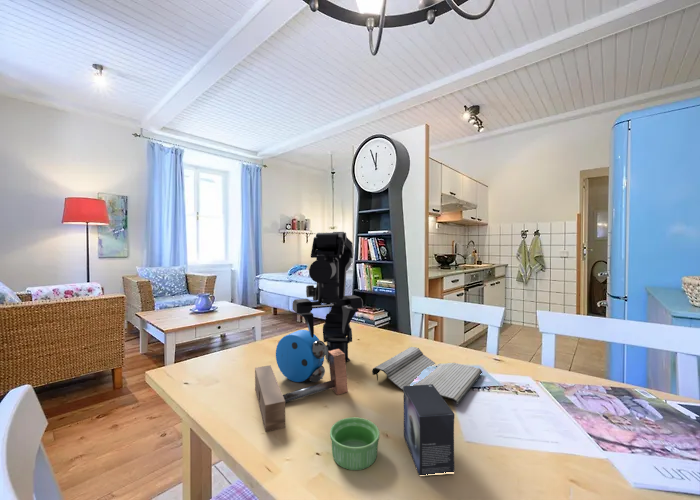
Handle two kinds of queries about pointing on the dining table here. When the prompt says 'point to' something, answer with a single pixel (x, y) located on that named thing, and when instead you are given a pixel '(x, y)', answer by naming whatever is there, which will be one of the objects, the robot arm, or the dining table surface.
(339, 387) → the pin
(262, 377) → the beam
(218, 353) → the dining table surface
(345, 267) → the robot arm
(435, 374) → the mat
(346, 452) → the ramekin
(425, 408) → the small box
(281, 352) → the alarm clock
